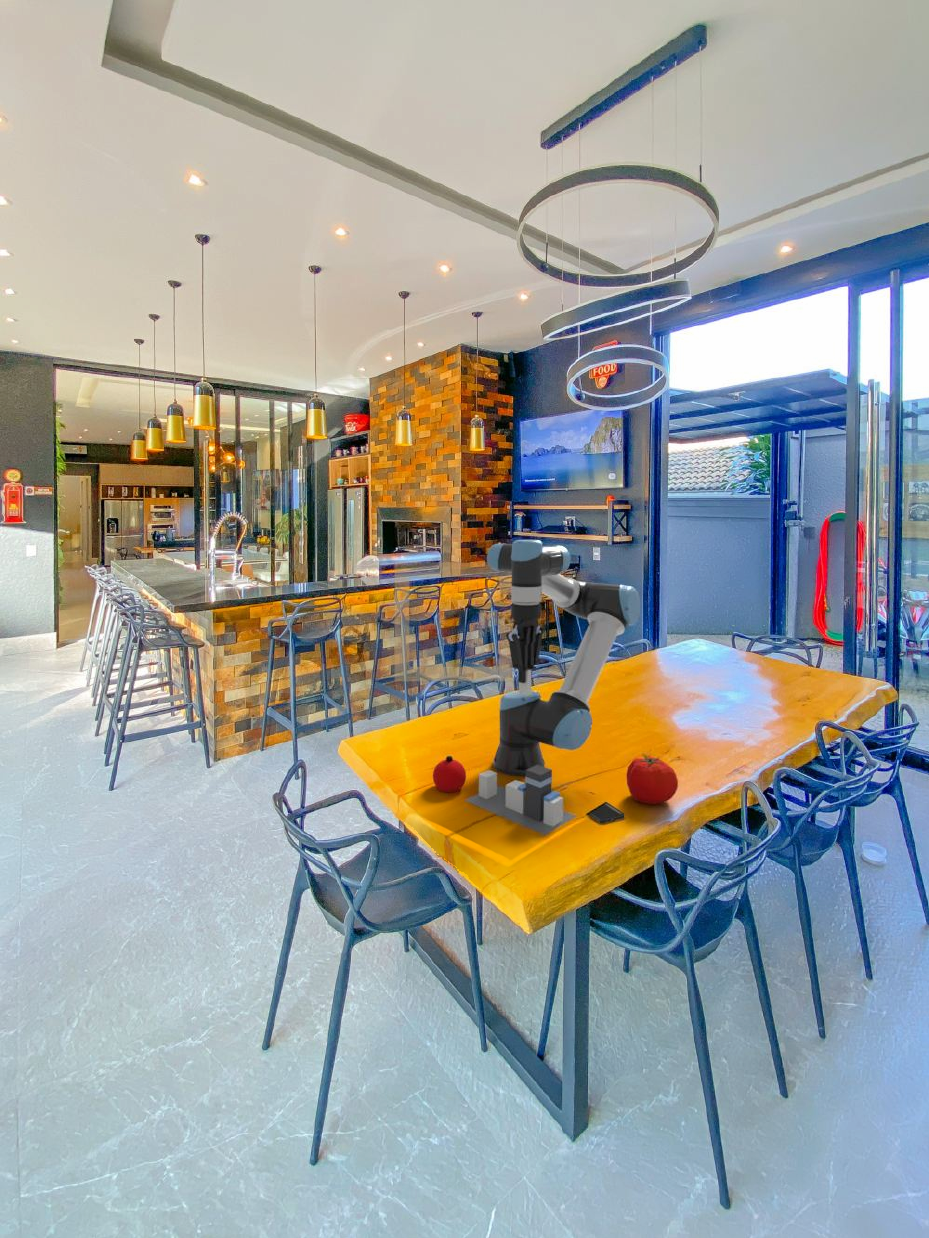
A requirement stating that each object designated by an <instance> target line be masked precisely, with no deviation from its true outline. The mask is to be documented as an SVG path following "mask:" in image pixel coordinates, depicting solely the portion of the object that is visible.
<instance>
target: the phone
mask: <svg viewBox="0 0 929 1238" xmlns="http://www.w3.org/2000/svg"><path fill="white" fill-rule="evenodd" d="M588 793H589V794H592V795H595V793H594V792H593V791H592V792H591V791H588ZM586 815H588V816H589V817H590V818H592V819H593V820H595V821H596V823H599V824H608V823H611V822H616V821H620V820H623V819H625V818H626V817H625V813H624V812H623V811H622V810H619V808H617V807H615V806H613V805H612V804H611V803H610V802H608V801H605V802H602V803H601V804H600V805H598V806H597V807H595V808H593V809H592V810H590V811H588V812H587V813H586Z"/></svg>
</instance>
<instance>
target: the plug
mask: <svg viewBox="0 0 929 1238" xmlns="http://www.w3.org/2000/svg"><path fill="white" fill-rule="evenodd" d="M552 772H553V769H551V768H548V767H546V766H545V767H543V766H540V765H535V766H533V767H531V768H529V769H527V770H526V776H524V777H525V781H524V783H526V793H525V816H527V817H529V818H532V819H534V820H536V821H539V822H540V821H542V820H544V796H546V795H548V794H550V793H552V786H553V785H552V782H553V776H552V775H553V773H552Z"/></svg>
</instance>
